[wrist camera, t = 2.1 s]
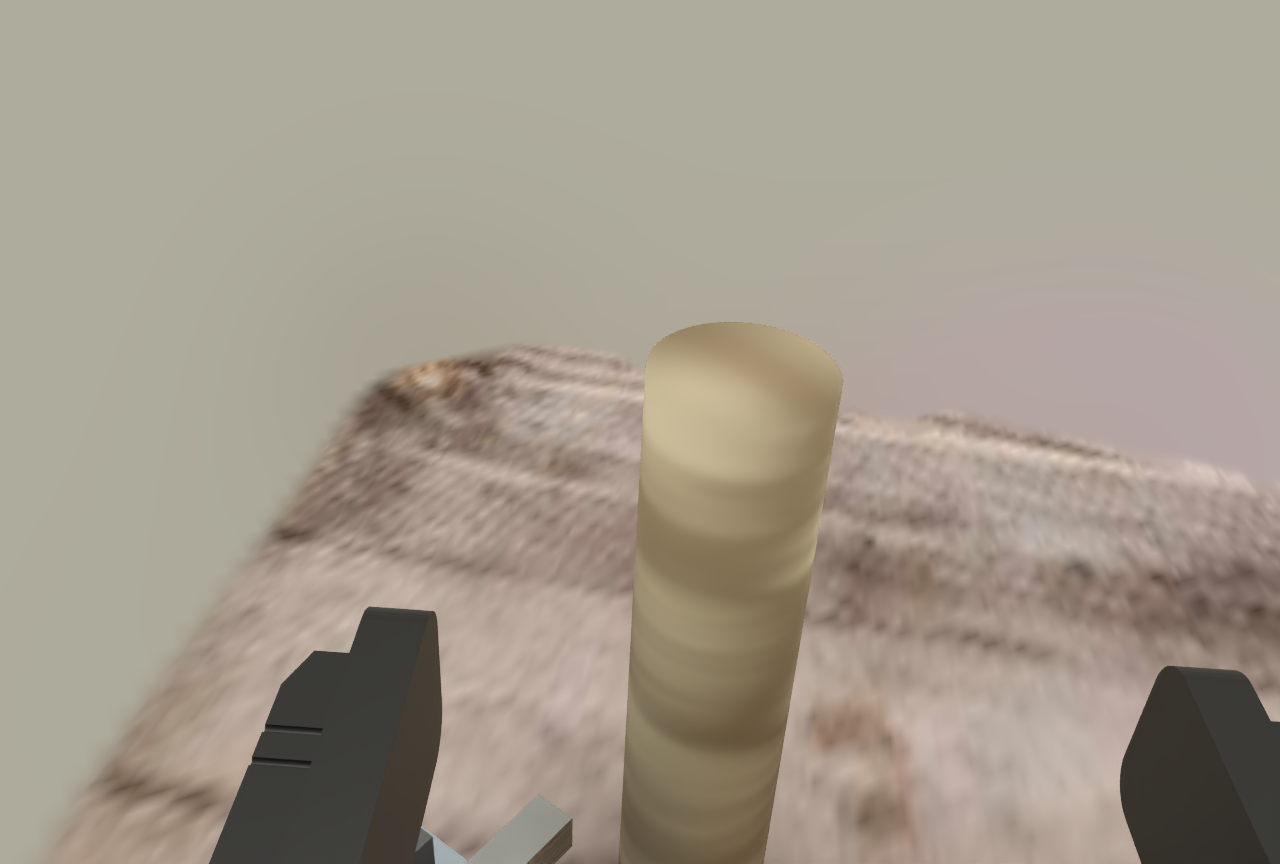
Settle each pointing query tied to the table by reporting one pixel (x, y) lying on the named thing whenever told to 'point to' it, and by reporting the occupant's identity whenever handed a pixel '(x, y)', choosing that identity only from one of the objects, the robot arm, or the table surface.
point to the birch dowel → (720, 584)
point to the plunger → (530, 837)
